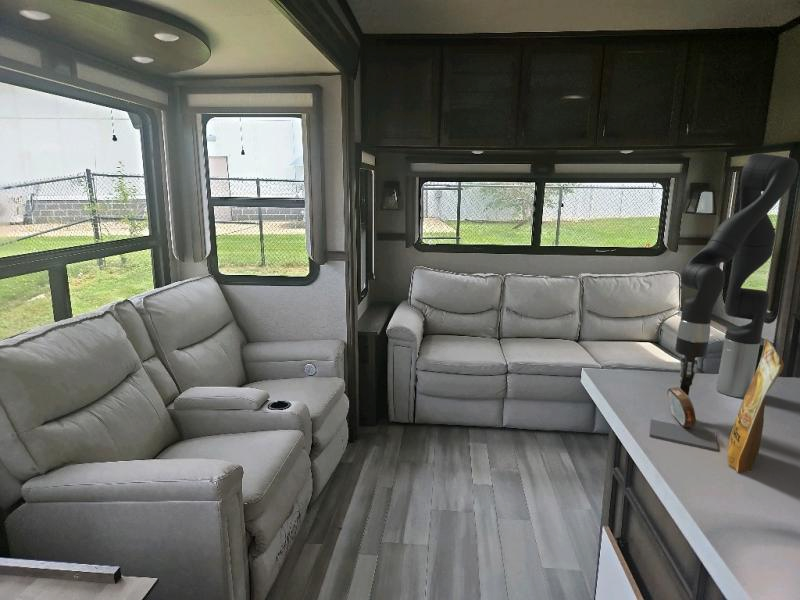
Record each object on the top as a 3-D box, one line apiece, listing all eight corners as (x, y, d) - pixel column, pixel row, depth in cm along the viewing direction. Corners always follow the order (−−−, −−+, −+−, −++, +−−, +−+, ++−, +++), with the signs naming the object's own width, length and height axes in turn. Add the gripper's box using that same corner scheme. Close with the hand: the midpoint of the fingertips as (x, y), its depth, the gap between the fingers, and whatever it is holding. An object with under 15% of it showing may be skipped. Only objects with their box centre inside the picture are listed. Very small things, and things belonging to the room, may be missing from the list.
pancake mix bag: (760, 447, 128) (781, 339, 121) (760, 482, 112) (785, 360, 106) (728, 439, 131) (747, 334, 125) (724, 472, 116) (746, 353, 110)
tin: (697, 431, 132) (695, 400, 131) (684, 432, 133) (682, 400, 132) (679, 411, 146) (677, 382, 145) (667, 412, 147) (665, 383, 146)
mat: (650, 421, 140) (650, 419, 140) (714, 434, 134) (714, 432, 134) (649, 436, 132) (649, 434, 132) (717, 451, 125) (717, 449, 125)
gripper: (677, 329, 147) (668, 386, 151) (677, 340, 136) (668, 402, 139) (707, 333, 144) (697, 391, 147) (710, 345, 132) (699, 408, 136)
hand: (683, 396), depth 143 cm, fingers closed
